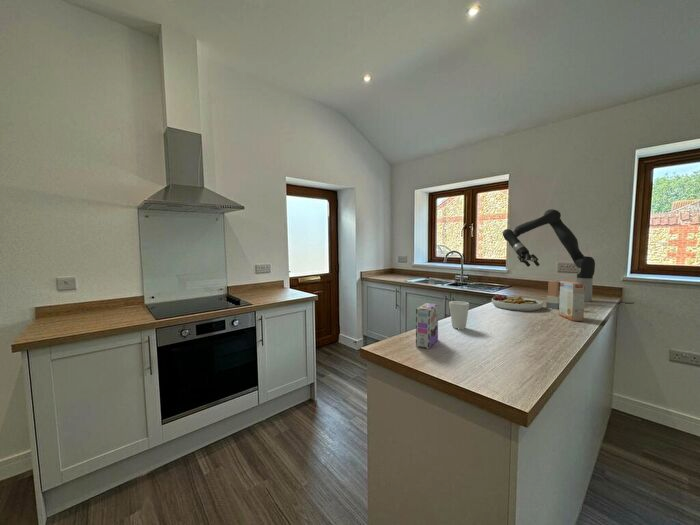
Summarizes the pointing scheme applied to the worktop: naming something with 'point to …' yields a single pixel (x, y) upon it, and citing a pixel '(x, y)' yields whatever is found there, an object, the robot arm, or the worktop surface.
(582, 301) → the cracker box
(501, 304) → the bowl
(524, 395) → the worktop surface
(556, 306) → the tower base
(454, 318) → the foam cup
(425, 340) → the candy box
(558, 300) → the tower top
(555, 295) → the pillar
